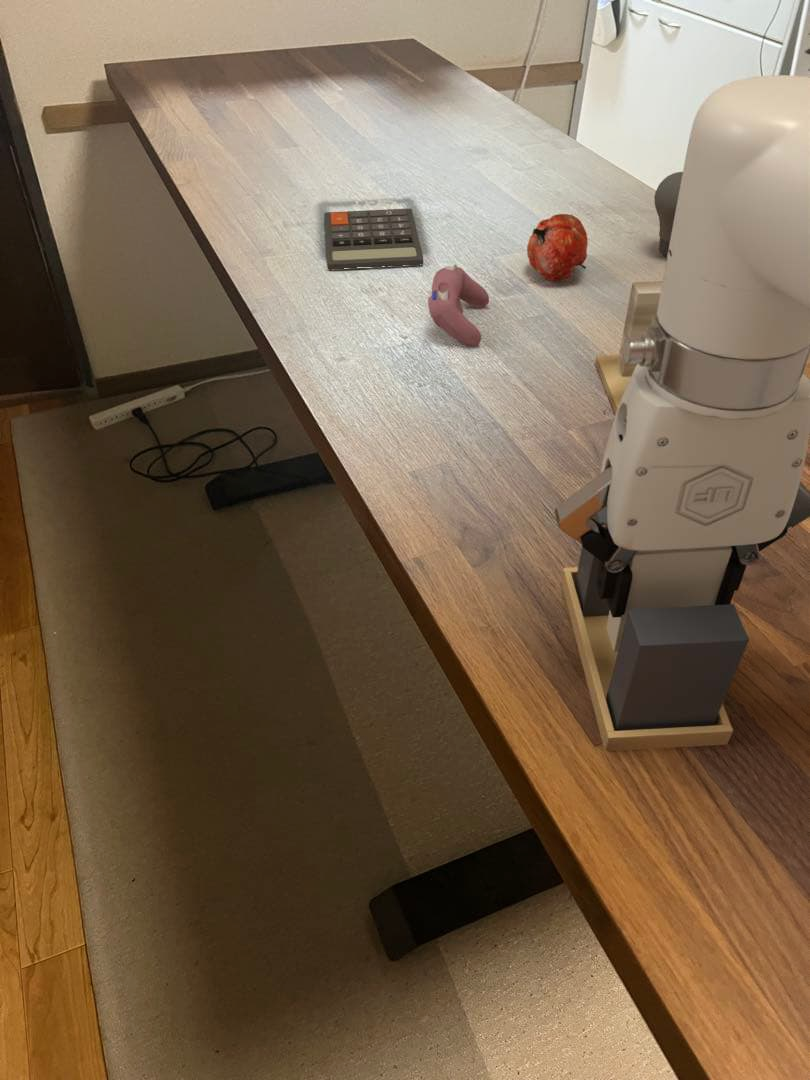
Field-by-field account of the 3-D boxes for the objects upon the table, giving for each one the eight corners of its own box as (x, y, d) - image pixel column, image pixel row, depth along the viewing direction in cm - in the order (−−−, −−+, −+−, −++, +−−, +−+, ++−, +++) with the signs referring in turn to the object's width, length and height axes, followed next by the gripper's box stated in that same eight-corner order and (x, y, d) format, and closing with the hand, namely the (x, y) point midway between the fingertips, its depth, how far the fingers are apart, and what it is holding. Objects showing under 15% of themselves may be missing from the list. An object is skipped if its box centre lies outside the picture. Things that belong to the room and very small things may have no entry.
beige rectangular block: (702, 646, 58) (732, 549, 52) (613, 652, 58) (633, 555, 52) (692, 622, 59) (720, 525, 53) (605, 627, 59) (624, 530, 53)
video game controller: (456, 314, 99) (430, 260, 95) (493, 300, 97) (467, 245, 94) (444, 360, 92) (415, 304, 88) (483, 346, 90) (455, 289, 87)
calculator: (411, 206, 115) (423, 258, 104) (411, 213, 115) (423, 265, 105) (323, 211, 114) (326, 263, 103) (324, 217, 115) (327, 270, 104)
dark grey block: (710, 732, 56) (750, 639, 50) (614, 738, 56) (640, 645, 49) (698, 697, 58) (733, 603, 52) (604, 702, 58) (628, 608, 51)
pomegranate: (556, 273, 108) (500, 235, 102) (598, 227, 104) (542, 185, 98) (576, 308, 103) (518, 270, 97) (621, 261, 99) (564, 219, 94)
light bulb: (637, 260, 105) (653, 177, 98) (650, 242, 109) (666, 161, 102) (683, 270, 103) (702, 186, 96) (694, 251, 107) (714, 169, 100)
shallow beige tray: (725, 748, 56) (733, 730, 55) (603, 755, 56) (608, 737, 54) (662, 580, 67) (667, 562, 65) (560, 585, 66) (563, 567, 65)
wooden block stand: (740, 463, 77) (772, 367, 70) (636, 467, 77) (657, 371, 70) (684, 360, 89) (707, 269, 82) (594, 363, 89) (609, 273, 82)
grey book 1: (666, 612, 64) (695, 517, 57) (581, 617, 63) (600, 522, 57) (656, 585, 66) (683, 490, 59) (573, 589, 65) (591, 494, 59)
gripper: (571, 405, 41) (541, 651, 53) (930, 385, 41) (818, 633, 53) (543, 326, 46) (522, 565, 58) (860, 309, 47) (773, 550, 59)
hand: (663, 596), depth 56 cm, fingers closed on beige rectangular block, 6 cm apart
